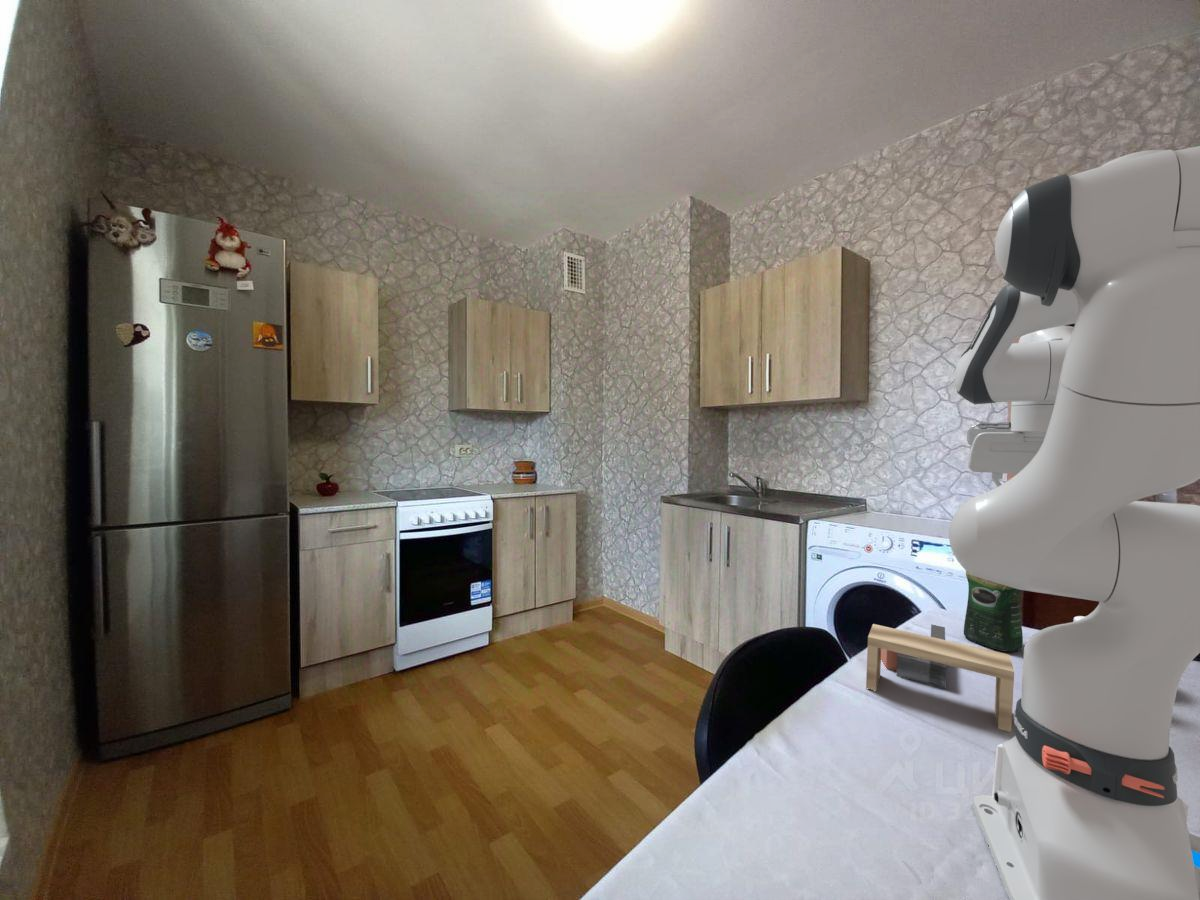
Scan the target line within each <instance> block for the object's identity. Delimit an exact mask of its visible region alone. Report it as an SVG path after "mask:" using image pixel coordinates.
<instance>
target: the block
mask: <svg viewBox="0 0 1200 900" xmlns="http://www.w3.org/2000/svg"><path fill="white" fill-rule="evenodd" d="M897 655H898V652H894V651H890V650H886V649H882V648H881V660H882V661H881V663H882V662H883V663H882V665H883V664H884V665H885V666H884V665H883V666H884V668H885V667H886V668H887V669H886V668H885V669H886V670H890V669H892V671H897Z"/></svg>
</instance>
